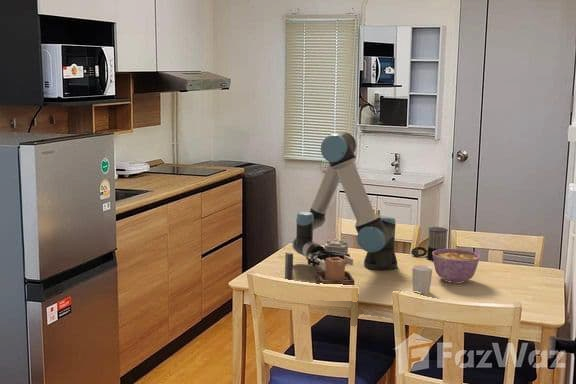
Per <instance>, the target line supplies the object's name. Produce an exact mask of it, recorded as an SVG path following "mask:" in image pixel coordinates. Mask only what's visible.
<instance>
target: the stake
mask: <svg viewBox="0 0 576 384" xmlns="http://www.w3.org/2000/svg"><path fill="white" fill-rule="evenodd" d="M284 255H285V260H284V261H285V262H284V263H285V264H284V265H285V266H284V267H285V268H284V270H285V271H284V278H285V279H286V278H287V279H286V280H291V279H293V277H294V276H293V274H294V271H293V269H294V253H293V252H285V254H284Z"/></svg>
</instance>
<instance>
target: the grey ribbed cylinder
mask: <svg viewBox="0 0 576 384" xmlns="http://www.w3.org/2000/svg"><path fill="white" fill-rule="evenodd" d="M427 229H428V236H427V237H428V239H427V240H428V242H427V248H425V247H423V246H417V247H413V248H412V249H411V252H410V253H411V254H412V255H413V256H414V257H418V256H419V257H418V258H420V257H425V256H426V259H427V260H428V259H429V261H431V260H432V261H433V255H432V252H433V251H435V250H438V249H447V242H448V241H447V240H448V239H447V237H448V230H449V229H447V228H446V227H441V226H432V227H431V226H430V227H428V228H427ZM419 250H421V251H422V252H423V253H420V254H419ZM432 261H431V262H432ZM433 262H434V261H433Z"/></svg>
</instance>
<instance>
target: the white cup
mask: <svg viewBox="0 0 576 384" xmlns="http://www.w3.org/2000/svg"><path fill="white" fill-rule="evenodd" d="M411 273H412V276H411V277H412V281H411V282H412V292H413V291H418V292H421V293H428V292H429V293H430V291H431V285H432V274H433V268H432V267H431V266H428V265H422V264H420V265H419V264H418V265H414V266H412V271H411ZM429 293H428V294H429Z"/></svg>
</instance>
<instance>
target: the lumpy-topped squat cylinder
mask: <svg viewBox="0 0 576 384" xmlns="http://www.w3.org/2000/svg"><path fill="white" fill-rule="evenodd" d="M324 249H325V250H326V251H328V252H331V251H332V250H333V251H336V252H341V253H347V254H349V253H348V252H349V244H348V242H347V241H345V240H343V239H340V240H338V239H337V238H334V239H333V240H331V239H328V240H326V243H325V244H324ZM329 258H330V255H329ZM324 262H326V260H324Z"/></svg>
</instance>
